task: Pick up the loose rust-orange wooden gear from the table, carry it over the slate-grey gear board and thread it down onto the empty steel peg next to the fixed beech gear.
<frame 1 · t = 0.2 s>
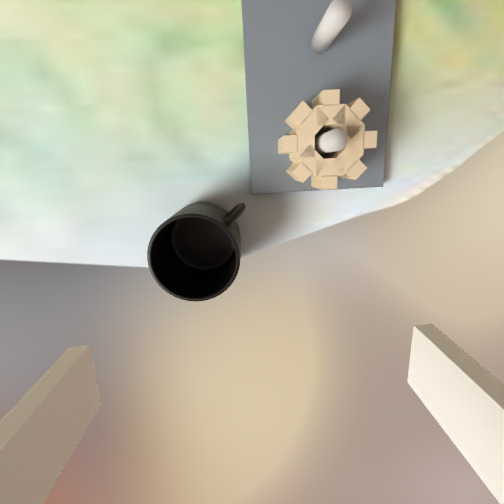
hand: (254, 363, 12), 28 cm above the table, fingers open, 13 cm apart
gear board: (315, 99, 35), on the table
mug: (211, 231, 39), on the table
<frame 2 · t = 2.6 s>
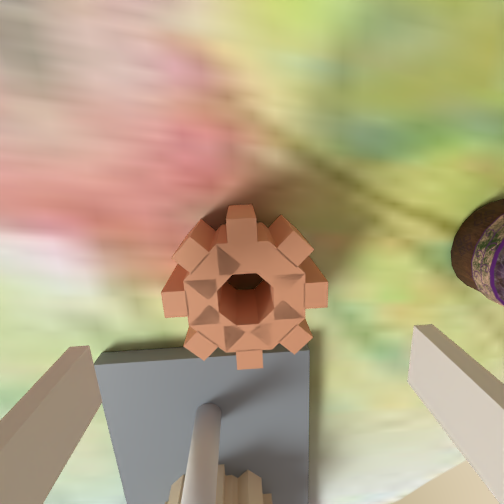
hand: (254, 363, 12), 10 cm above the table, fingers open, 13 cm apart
gear board: (215, 445, 27), on the table
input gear: (244, 269, 22), on the table
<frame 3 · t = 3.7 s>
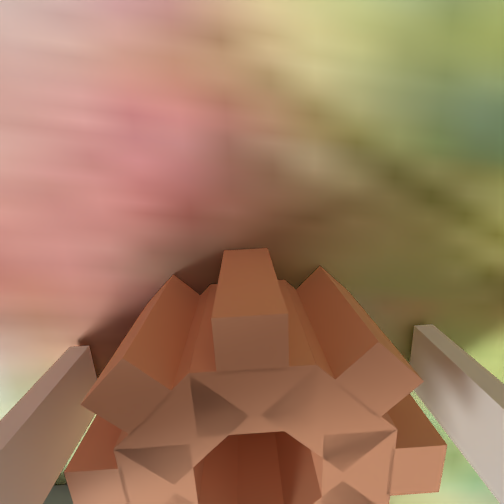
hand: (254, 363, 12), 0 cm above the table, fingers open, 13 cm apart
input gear: (252, 358, 12), on the table
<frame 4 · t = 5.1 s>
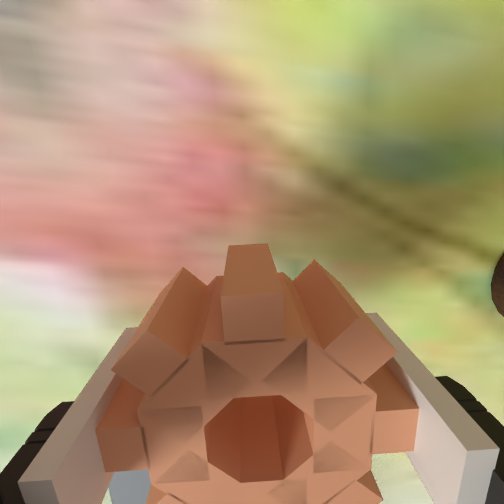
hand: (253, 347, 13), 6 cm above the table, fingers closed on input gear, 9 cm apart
gear board: (223, 493, 24), on the table
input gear: (253, 344, 14), point 6 cm above the table, touching gripper
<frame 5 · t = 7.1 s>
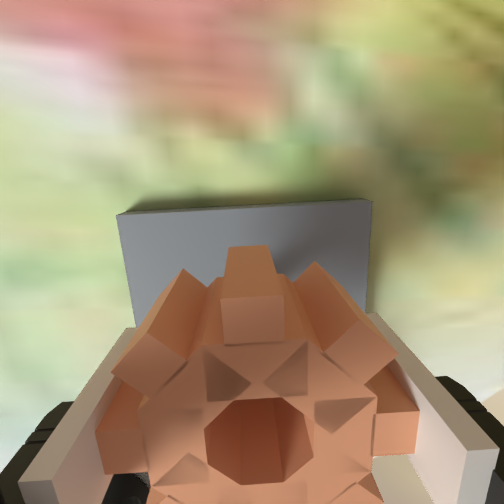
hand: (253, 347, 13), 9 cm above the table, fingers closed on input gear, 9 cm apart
gear board: (252, 339, 23), on the table
mug: (112, 491, 27), on the table
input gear: (253, 345, 14), point 8 cm above the table, touching gripper
when the fingers open (2 cm above the table, at t = 9.0 s): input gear stays where it is, resting on gear board.
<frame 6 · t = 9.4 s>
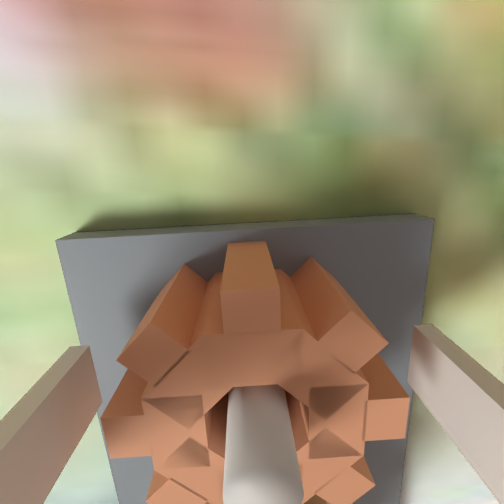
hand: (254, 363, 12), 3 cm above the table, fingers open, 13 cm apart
gear board: (256, 401, 17), on the table
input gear: (252, 338, 14), point 1 cm above the table, touching gear board
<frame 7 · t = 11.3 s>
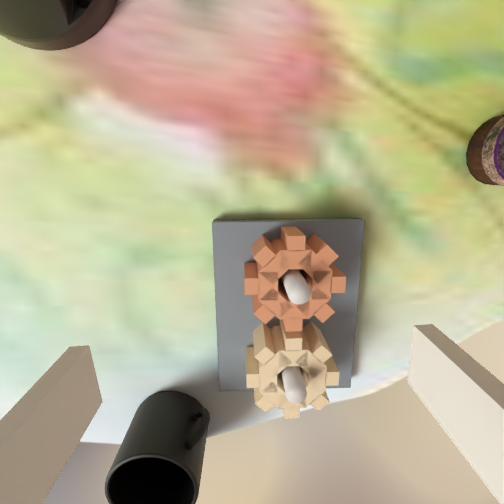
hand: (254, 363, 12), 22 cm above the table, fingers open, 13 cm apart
gear board: (285, 306, 35), on the table
mug: (179, 413, 39), on the table
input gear: (287, 269, 33), point 1 cm above the table, touching gear board
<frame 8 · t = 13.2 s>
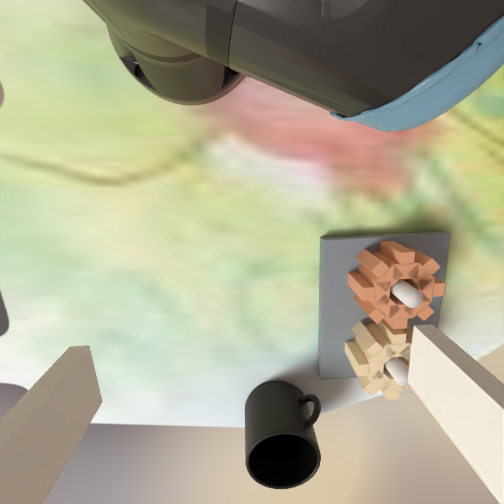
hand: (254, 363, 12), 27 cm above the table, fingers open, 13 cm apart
gear board: (376, 306, 42), on the table
mug: (281, 399, 46), on the table
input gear: (383, 276, 39), point 1 cm above the table, touching gear board
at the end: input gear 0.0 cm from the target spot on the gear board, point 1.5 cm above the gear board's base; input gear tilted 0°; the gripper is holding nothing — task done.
